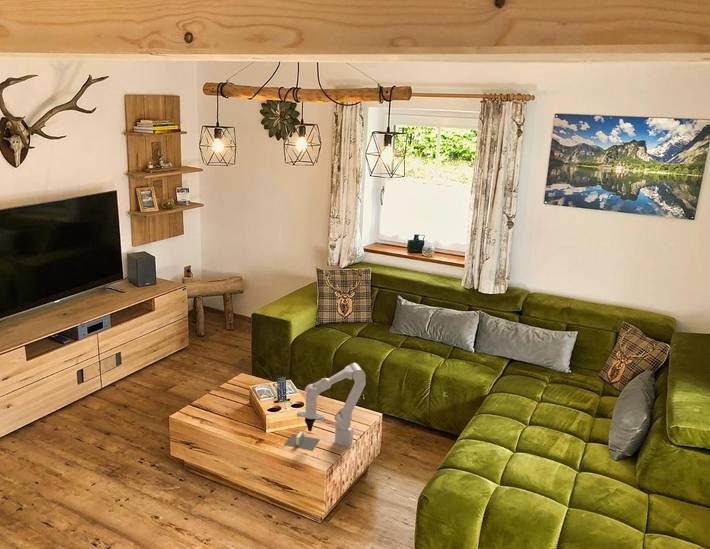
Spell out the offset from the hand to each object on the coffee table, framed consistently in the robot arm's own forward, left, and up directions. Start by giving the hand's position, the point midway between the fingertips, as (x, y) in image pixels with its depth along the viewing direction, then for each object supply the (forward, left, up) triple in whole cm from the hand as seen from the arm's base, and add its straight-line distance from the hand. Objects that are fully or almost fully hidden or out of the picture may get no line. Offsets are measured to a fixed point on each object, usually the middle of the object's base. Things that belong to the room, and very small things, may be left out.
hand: (310, 430), depth 326 cm
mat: (+4, -1, -9) cm, 10 cm away
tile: (+5, 0, -8) cm, 10 cm away
